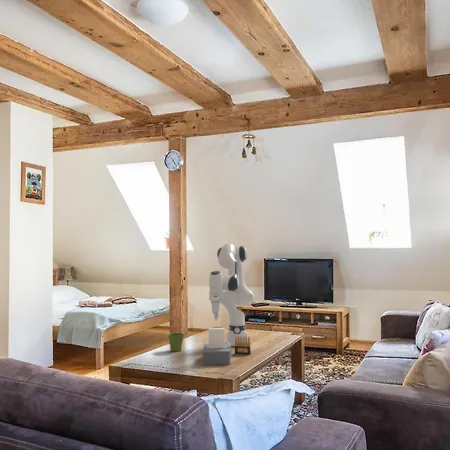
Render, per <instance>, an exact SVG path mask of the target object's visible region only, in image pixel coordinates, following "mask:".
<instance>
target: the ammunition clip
mask: <svg viewBox="0 0 450 450" xmlns="http://www.w3.org/2000/svg"><path fill="white" fill-rule="evenodd" d="M250 338H251V337H250V336H248V342H247V336H246V338H244V336H243V345H242V336H241V337H240V339H239V336H238V342H237V336H236V337H235V346H234V355H249V356H250V355H251V354H252V351H251V339H250ZM237 343H238V346H237Z"/></svg>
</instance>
